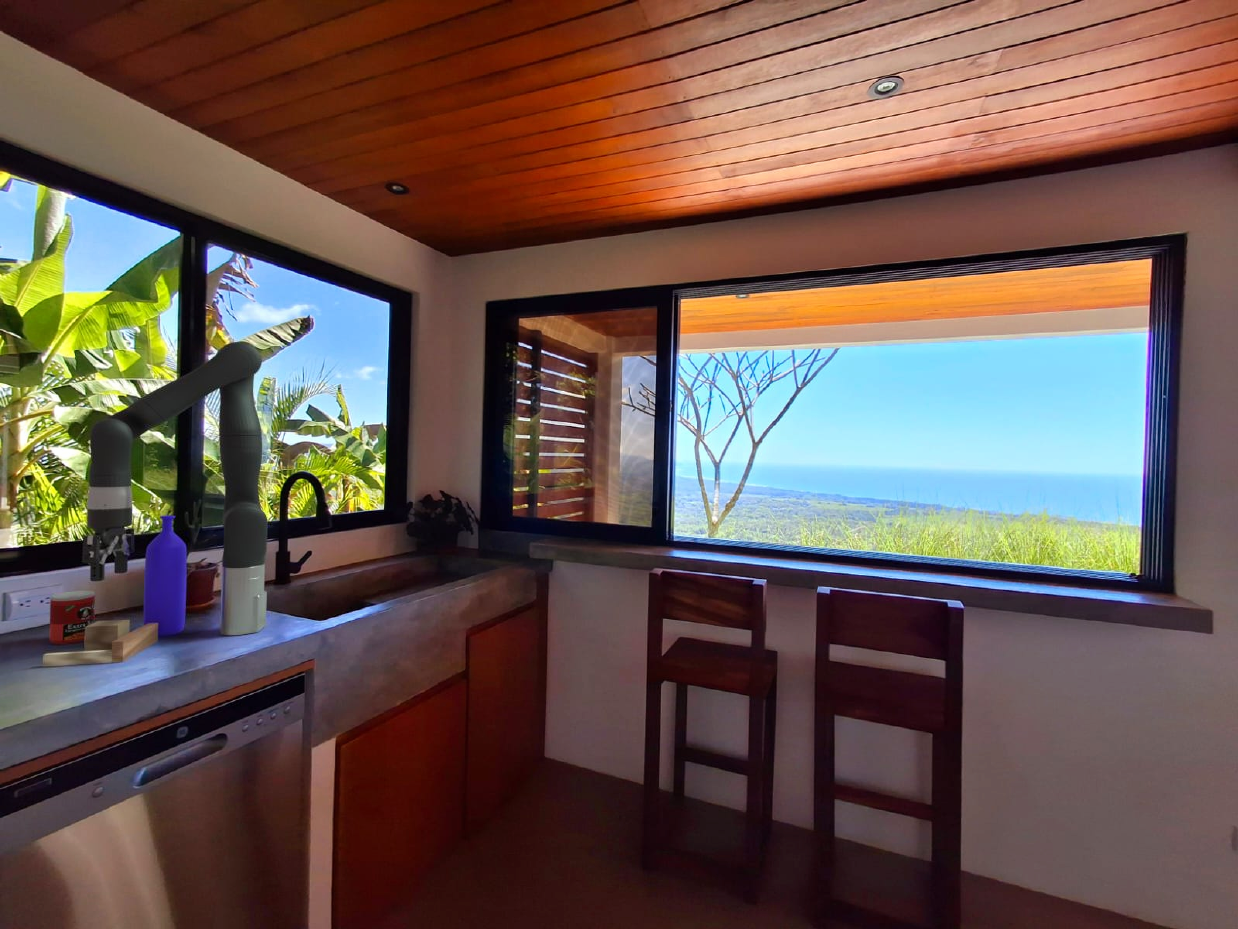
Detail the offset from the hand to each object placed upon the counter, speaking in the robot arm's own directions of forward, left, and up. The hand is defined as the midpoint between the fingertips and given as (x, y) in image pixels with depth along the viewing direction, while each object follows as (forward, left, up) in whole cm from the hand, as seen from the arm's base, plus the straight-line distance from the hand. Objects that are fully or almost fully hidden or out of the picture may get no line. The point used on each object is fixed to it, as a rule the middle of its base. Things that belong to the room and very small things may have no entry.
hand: (109, 576), depth 123 cm
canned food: (+14, -12, -18) cm, 26 cm away
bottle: (-4, -14, -18) cm, 23 cm away
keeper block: (0, 0, -18) cm, 18 cm away
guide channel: (+1, 0, -17) cm, 17 cm away
